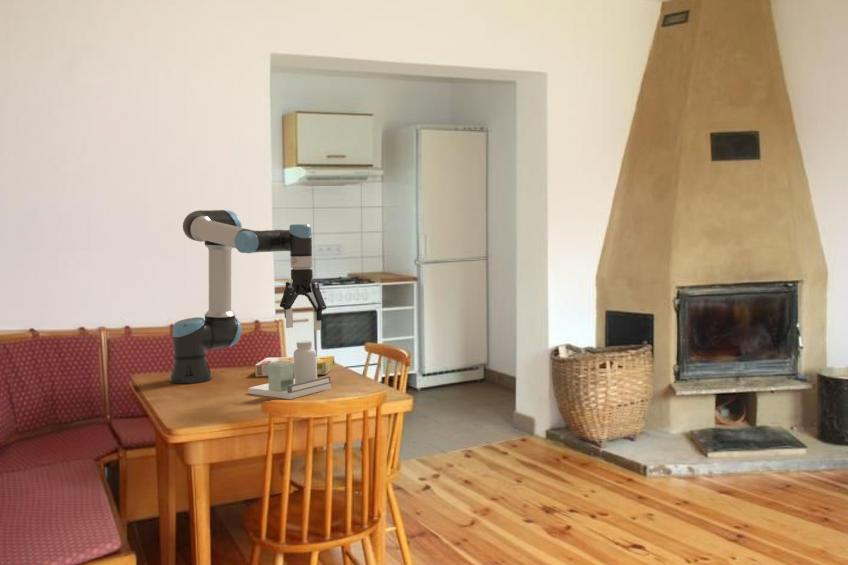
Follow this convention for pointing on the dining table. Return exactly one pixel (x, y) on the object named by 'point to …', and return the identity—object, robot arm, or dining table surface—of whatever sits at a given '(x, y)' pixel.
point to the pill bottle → (305, 362)
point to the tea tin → (280, 375)
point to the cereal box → (323, 365)
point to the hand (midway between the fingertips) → (303, 328)
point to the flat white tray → (294, 389)
